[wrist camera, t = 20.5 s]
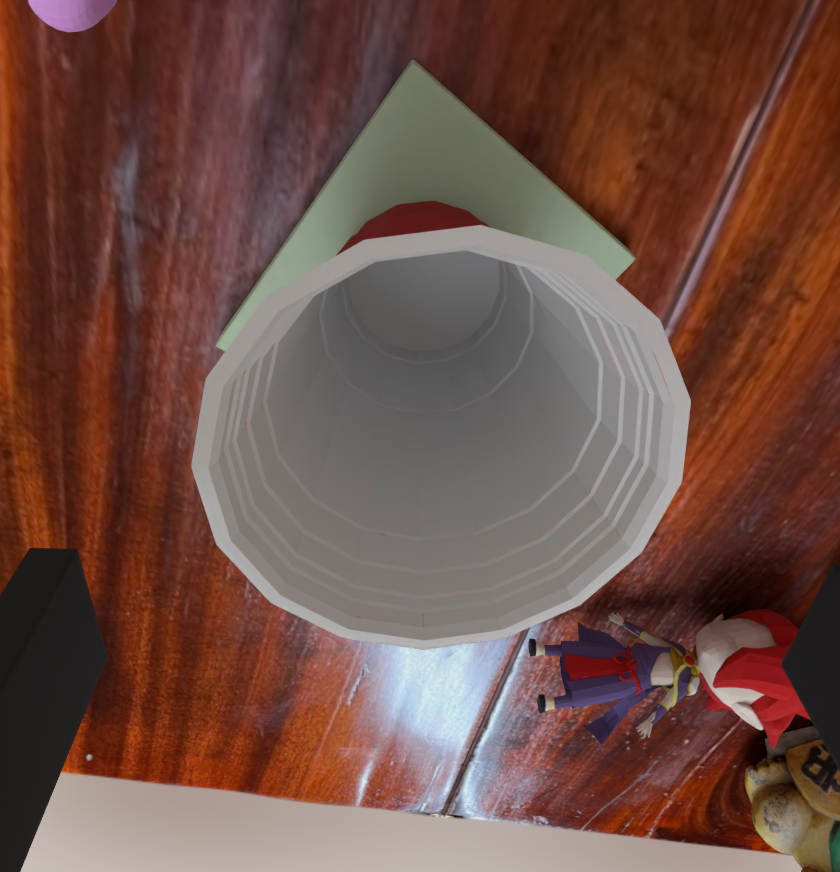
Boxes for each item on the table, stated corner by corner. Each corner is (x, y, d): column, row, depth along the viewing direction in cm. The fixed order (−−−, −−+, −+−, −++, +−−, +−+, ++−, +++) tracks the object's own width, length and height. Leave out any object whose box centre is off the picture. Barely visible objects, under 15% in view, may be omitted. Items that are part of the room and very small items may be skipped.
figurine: (529, 582, 34) (842, 565, 34) (517, 662, 40) (783, 647, 40) (551, 716, 30) (911, 695, 30) (535, 783, 36) (833, 766, 36)
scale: (424, 492, 32) (426, 530, 30) (203, 358, 28) (187, 391, 26) (649, 267, 26) (671, 294, 24) (412, 57, 22) (413, 67, 20)
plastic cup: (639, 295, 26) (790, 509, 16) (410, 453, 29) (415, 707, 19) (455, 29, 21) (506, 95, 11) (208, 258, 25) (78, 463, 15)
